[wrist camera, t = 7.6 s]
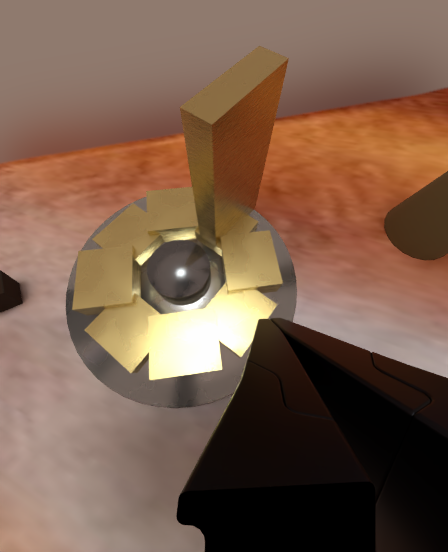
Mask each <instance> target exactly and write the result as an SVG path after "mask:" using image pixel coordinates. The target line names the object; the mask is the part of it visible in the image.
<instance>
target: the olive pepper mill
mask: <svg viewBox="0 0 448 552" xmlns="http://www.w3.org/2000/svg"><path fill="white" fill-rule="evenodd" d="M385 230H386V233H387V236H388V238H389V239H390V240H391V242H392V243H393V244H394V245H395V246H396V247H397V248H398V249H399V250H401V251H402V252H403V253H405V254H407V255H409V256H411V257H413V258H417V259H422V260H435V259H437V258H440V257H442V256H444V255H446V254H447V253H448V171H447V172H446V173H444V174H443V175H441V176H440V177H438V178H437V179H435V180H434V181H433V182H431V183H430V184H428V185H427V186H425V187H424V188H422V189H421V190H419V191H418V192H416V193H415V194H414V195H412V196H411V197H409V198H408V199H406V200H405V201H403V202H402V203H400V204H399V205H397V206H396V207H394V208H393V209H392V210H391V211H390V212H388V214H387V216H386V218H385Z"/></svg>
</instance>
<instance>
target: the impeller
mask: <svg viewBox="0 0 448 552" xmlns="http://www.w3.org/2000/svg"><path fill="white" fill-rule="evenodd" d="M133 203H134V204H135V205H136V206H138V207H139V208H141V209H142V210H143V211H145V212H146V213H147V197H144V198H142V199H139V200H137V201H135V202H133ZM133 203H131V204H133ZM131 204H129V205H127V206H125V207H124V208H122V209H121V210H119V211H117V212H116V213H115V214H113V215H112V216H111V217H110V218H108V219H107V220H106V221H105V222H104V223H103V224H102V225H101V226H100V227H99V228H98V229H97V230H96V231H95V232H94V233H93V234H92V236H91V237H90V238H89V239H88V240H87V242H86V243H85V245H84V247H83V248H82V250H81V251H85V250H94V249H102V248H101V247H99V246H98V245H97V244H96V243H95V242H94V241H93V240H92V239H93V238H94V237H95V236H96V235H97V234H99V233H100V232H101V231H102V230H103V229H104V228H105V227H106V226H108V225H109V224H110V223H111V222H112V221H113V220H114V219H116V218H117V217H118V216H119V215H120V214H121V213H122V212H123V211H125V210H126V209H127V208H128V207H129V206H130V205H131ZM249 216H250V217H252V218H254V219H255V220H257V221H258V225H257V229H256V231H255V232H259V231H268V230H270V233H271V237H272V241H273V245H274V249H275V253H276V257H277V261H278V265H279V269H280V273H281V277H282V282H283V284H282V285H281V287H280V288H279V289H278V290H277V291H276V292H268V293H262V294H263V295H264V296H266V297H267V298H269V299H270V300H272V301H273V302H274V303H276V304H277V306H276V307H275V309H274V310H273V312H272V313H271V315H270V316H269V318H268V319H271V318H283V319H285V320H288V321H291V322H293V317H294V313H295V308H296V296H297V287H296V276H295V271H294V267H293V263H292V260H291V257H290V254H289V252H288V250H287V248H286V246H285V244H284V242H283V240H282V239H281V237H280V236H279V234H278V233H277V231H276V230H275V229H274V228H273V227H272V225H271V224H270V223H269V222H268V221H267V220H266V219H265V218H264V217H262V216H261V215H260V214H259V213H258V212H256V211H255V210H253V211H252V212H251V213H250V215H249ZM77 261H78V257H77V259H76V261H75V264H74V266H73V269H72V272H71V275H70V278H69V282H68V288H67V293H66V315H67V324H68V328H69V331H70V335H71V339H72V341H73V343H74V346H75V348H76V350H77V353H78V354H79V356H80V357H81V359H82V360H83V362H84V363H85V365H86V366H87V368H88V369H89V370H90V371H91V372H92V373H93V374H94V375H95V376H96V378H97V379H99V380H100V381H101V382H102V383H104V384H105V385H106V386H107V387H109V388H110V389H112V390H113V391H115V392H117V393H119V394H120V395H122V396H124V397H126V398H129V399H131V400H134V401H136V402H139V403H142V404H147V405H152V406H157V407H169V408H181V407H192V406H198V405H202V404H206V403H210V402H213V401H216V400H218V399H221V398H223V397H226V396H228V395H230V394H232V393H234V392H235V390H236V388H237V386H238V384H239V382H240V380H241V377H242V374H243V371H244V368H245V364H246V362H247V358H248V355H249V351H250V347H251V344H252V342H251V344H250V345H249V347H248V348H247V350H246V351H245V352H244V354H243V355H242V357H241V358H239V357H238V356H237V355H235V354H234V353H233V352H232V351H230V350H229V349H228V348H227V347H225V346H224V345H223V344H222V343H220V342H219V346H220V355H221V363H222V370H216V371H209V372H202V373H196V374H189V375H182V376H176V377H169V378H162V379H155V380H149V360H148V361H147V362H146V363H145V364H144V366H143V367H142V368H141V369H140V370H139V372H138V373H130V372H129V371H128V370H127V369H126V368H125V367H123V366H122V365H121V364H120V363H119V362H118V361H117V360H116V359H115V358H114V357H113V356H112V355H111V354H109V353H108V352H107V351H106V350H105V349H104V348H103V347H102V346H101V345H100V344H99V343H98V342H97V341H95V340H94V339H93V338H92V337H91V336H90V335H89V334H88V333H87V332H86V331H85V329H86V328H87V327H88V326H89V325H90V324H91V323H92V321H93V320H94V319H95V318H96V317H97V316H98V315H99V314H95V315H88V316H87V315H85V314H82V313H79V312H76V311H74V310H72V307H73V298H74V288H75V279H76V270H77ZM224 284H225V278H224V271H223V264H222V257H221V256H220V255H219V254H217V253H216V252H214V251H213V250H211V249H210V248H209V247H207V246H206V245H204V244H203V243H201V242H200V241H198V240H197V239H189V240H173V241H169V242H164V243H163V244H162V245H161V246H160V247H158V248H157V249H156V250H155V251H154V252H153V254H152V255H151V256H150V257H149V258H148V259H147V260H146V261H145V262H144V263H143V264H142V265H141V298H142V299H143V300H144V301H145V302H147V303H148V304H149V305H150V306H152V307H153V308H154V309H155V310H156V311H158V312H159V313H160V314H168V313H176V312H184V311H192V310H199V309H205V308H206V306H207V305H208V304H209V303H210V302H211V300H212V299H213V298H214V297H215V295H216V294H217V293H218V292H219V290H220V289H221V288H222V287H223V285H224Z"/></svg>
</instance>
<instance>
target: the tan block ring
mask: <svg viewBox="0 0 448 552" xmlns="http://www.w3.org/2000/svg"><path fill="white" fill-rule="evenodd" d="M288 59H289V58H287V57H284V56H282V55H280V54H277V53H275V52H272V51H270V50H268V49H266V48H263V47H261V46H259V47H257V48H256V49H255V50H253V51H252V52H251V53H249V55H247V56H246V57H244V58H243V59H242V60H240V61H239V62H238V63H236V64H235V65H234V66H233V67H232V68H230V69H229V70H227V71H226V72H225V73H224V74H222V75H221V76H220V77H218V78H217V79H216V80H214V81H213V82H212V83H211V84H209V85H208V86H207V87H205V88H204V89H203V90H202V91H200V92H199V93H198V94H196V95H195V96H194V97H192V98H191V99H190V100H189V101H187V102H186V103H185V104H183V105H182V106H181V107H180V111H181V118H182V124H183V131H184V137H185V143H186V150H187V156H188V163H189V169H190V176H191V182H192V187H186V188H176V189H165V190H154V191H146V192H147V213H146V212H145V211H143V210H142V209H141V208H139V207H138V206H136V205H135V204H134V203H133V204H131V205H130V206H129V207H128V208H127V209H126V210H125V211H123V212H122V213H121V214H120V215H119V216H118V217H117V218H116V219H114V220H113V221H112V222H111V223H110V224H109V225H108V226H106V227H105V228H104V229H103V230H102V231H101V232H100V233H99V234H97V235H96V236H95V237H94V238H93V239H92V240H93V241H94V242H95V243H96V244H97V245H98V246H99V247H101V248H102V249H94V250H85V251H79V252H78V261H77V270H76V279H75V288H74V298H73V307H72V310H74V311H76V312H79V313H82V314H85V315H87V316H88V315H95V314H99V315H98V316H97V317H96V318H95V319H94V320H93V321H92V323H91V324H90V325H89V326H88V327H87V328H86V329H85V331H86V332H87V333H88V334H89V335H90V336H91V337H92V338H93V339H94V340H95V341H97V342H98V343H99V344H100V345H101V346H102V347H103V348H104V349H105V350H106V351H107V352H108V353H109V354H111V355H112V356H113V357H114V358H115V359H116V360H117V361H118V362H119V363H120V364H121V365H122V366H123V367H125V368H126V369H127V370H128V371H129V372H130V373H138V372H139V370H140V369H141V368H142V367H143V366H144V364H145V363H146V362H147V361H148V360H149V380H155V379H162V378H169V377H176V376H182V375H189V374H196V373H202V372H209V371H216V370H222V363H221V355H220V346H219V342H220V343H222V344H223V345H224V346H225V347H227V348H228V349H229V350H230V351H232V352H233V353H234V354H235V355H237V356H238V357H239V358H241V357H242V355H243V354H244V352H245V351H246V350H247V348H248V347H249V345H250V344H251V342H252V340H253V337H254V333H255V330H256V326H257V322H258V320H259V319H267V318H269V316H270V315H271V313H272V312H273V310H274V309H275V307H276V306H277V304H276V303H274V302H273V301H272V300H270V299H269V298H267V297H266V296H264V295H263V294H262V293H268V292H276V291H277V290H278V289H279V288H280V287H281V285H282V284H283V282H282V277H281V273H280V269H279V265H278V261H277V257H276V253H275V249H274V245H273V241H272V237H271V233H270V230H268V231H259V232H255V231H256V229H257V225H258V221H257V220H255V219H254V218H252V217H250V216H249V215H250V213H251V212H252V211H253V210H254V209H255V206H256V202H257V197H258V193H259V188H260V184H261V179H262V175H263V171H264V166H265V162H266V157H267V153H268V148H269V144H270V139H271V135H272V130H273V126H274V122H275V117H276V113H277V108H278V104H279V99H280V95H281V90H282V86H283V81H284V77H285V73H286V68H287V63H288ZM189 239H197V240H198V241H200V242H201V243H203V244H204V245H206V246H207V247H209V248H210V249H211V250H213V251H214V252H216V253H217V254H219V255H220V256H221V257H222V264H223V271H224V278H225V284H224V285H223V287H222V288H221V289H220V290H219V292H218V293H217V294H216V295H215V297H214V298H213V299H212V300H211V302H210V303H209V304H208V305H207V306H206V308H205V309H199V310H192V311H184V312H176V313H168V314H160V313H159V312H158V311H156V310H155V309H154V308H153V307H152V306H150V305H149V304H148V303H147V302H145V301H144V300H143V299H142V298H141V265H142V264H143V263H144V262H145V261H146V260H147V259H148V258H149V257H150V256H151V255H152V254H153V252H154V251H155V250H156V249H157V248H158V247H160V246H161V245H162V244H163V243H164V242H169V241H173V240H189Z"/></svg>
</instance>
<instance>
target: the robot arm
mask: <svg viewBox="0 0 448 552" xmlns="http://www.w3.org/2000/svg"><path fill="white" fill-rule="evenodd" d="M177 520H178V522H179V523H180V524H182V525H192V526H195V527H196V528H198V529H200V530H201V532H202V533H203V535H204V537H205V552H448V378H446V377H443V376H440V375H437V374H434V373H431V372H428V371H425V370H422V369H419V368H416V367H413V366H410V365H407V364H405V363H402V362H399V361H396V360H393V359H391V358H388V357H385V356H382V355H380V354H377V353H374V352H372V353H371V352H370V351H368V350H365V349H362V348H360V347H357V346H354V345H352V344H349V343H347V342H344V341H341V340H339V339H336V338H333V337H331V336H328V335H325V334H323V333H320V332H317V331H315V330H312V329H309V328H307V327H304V326H301V325H299V324H296V323H293V322H291V321H288V320H285V319H283V318H271V319H268V318H267V319H259V320H258V322H257V326H256V330H255V333H254V337H253V340H252V344H251V347H250V351H249V355H248V358H247V362H246V364H245V368H244V371H243V374H242V377H241V380H240V382H239V384H238V386H237V388H236V390H235V393H234V395H233V396H232V398H231V400H230V402H229V404H228V406H227V408H226V410H225V411H224V413H223V415H222V417H221V419H220V421H219V423H218V425H217V426H216V428H215V430H214V432H213V434H212V436H211V438H210V440H209V441H208V443H207V445H206V447H205V449H204V451H203V453H202V455H201V456H200V458H199V460H198V462H197V464H196V466H195V468H194V470H193V471H192V473H191V475H190V477H189V479H188V481H187V483H186V485H185V486H184V488H183V490H182V492H181V494H180V496H179V499H178V508H177Z"/></svg>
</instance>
